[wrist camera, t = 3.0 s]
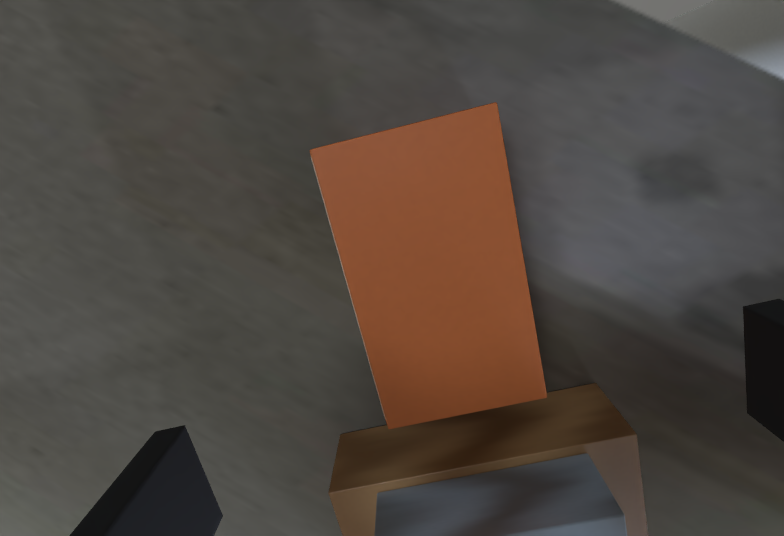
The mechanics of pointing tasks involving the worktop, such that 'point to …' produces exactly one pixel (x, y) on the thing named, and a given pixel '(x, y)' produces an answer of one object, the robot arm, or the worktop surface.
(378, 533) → the box stack
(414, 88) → the worktop surface
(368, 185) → the book
